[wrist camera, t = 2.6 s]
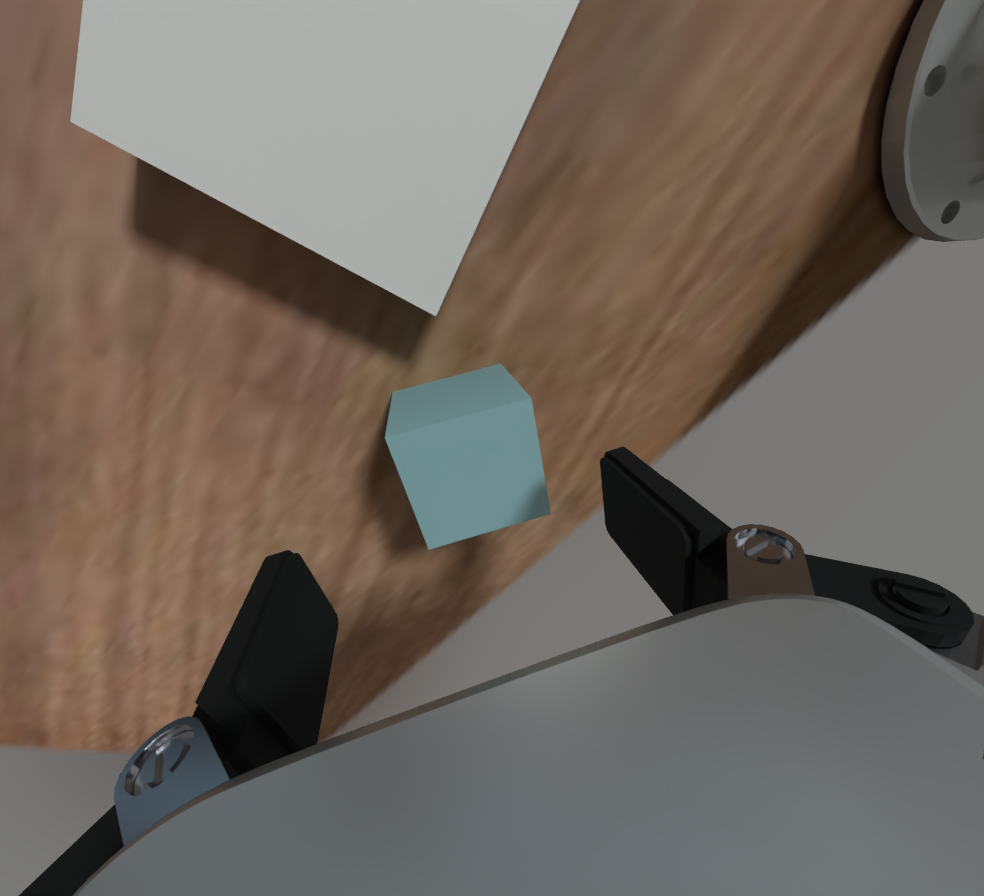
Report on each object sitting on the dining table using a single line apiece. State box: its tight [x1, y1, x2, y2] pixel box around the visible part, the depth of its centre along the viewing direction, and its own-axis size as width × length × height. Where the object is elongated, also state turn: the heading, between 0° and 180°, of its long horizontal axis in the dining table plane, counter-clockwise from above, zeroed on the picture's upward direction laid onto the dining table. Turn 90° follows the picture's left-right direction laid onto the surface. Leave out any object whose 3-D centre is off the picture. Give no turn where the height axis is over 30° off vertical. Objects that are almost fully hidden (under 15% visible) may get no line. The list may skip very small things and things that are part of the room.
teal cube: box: [385, 364, 551, 550], centre depth 15 cm, size 5×5×5 cm
